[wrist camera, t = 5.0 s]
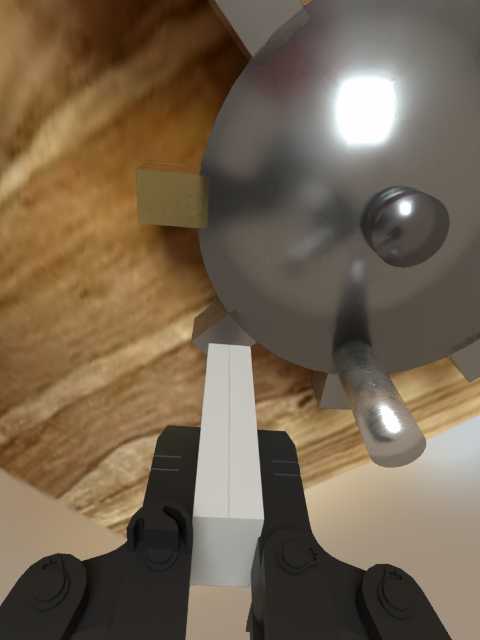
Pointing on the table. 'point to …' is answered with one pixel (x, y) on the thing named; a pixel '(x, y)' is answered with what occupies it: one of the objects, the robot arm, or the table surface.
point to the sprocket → (338, 198)
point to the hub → (405, 226)
